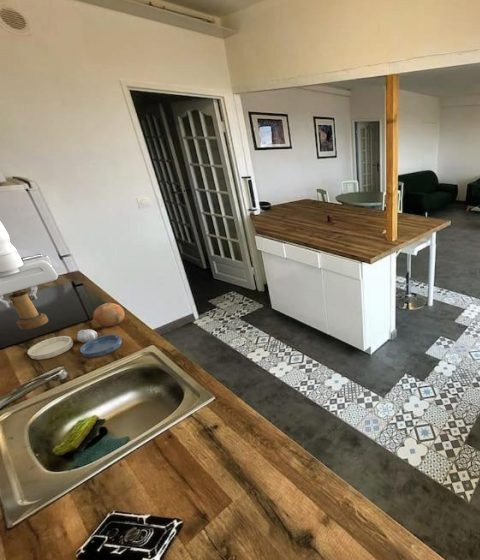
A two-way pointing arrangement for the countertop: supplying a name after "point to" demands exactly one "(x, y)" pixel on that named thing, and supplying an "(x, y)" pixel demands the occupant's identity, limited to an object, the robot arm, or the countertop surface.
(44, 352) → the cream saucer
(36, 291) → the robot arm
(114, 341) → the slate saucer
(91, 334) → the garlic
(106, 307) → the onion
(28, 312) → the mortar and pestle
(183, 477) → the countertop surface
